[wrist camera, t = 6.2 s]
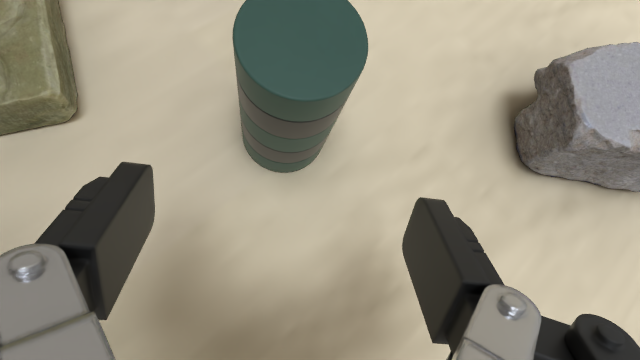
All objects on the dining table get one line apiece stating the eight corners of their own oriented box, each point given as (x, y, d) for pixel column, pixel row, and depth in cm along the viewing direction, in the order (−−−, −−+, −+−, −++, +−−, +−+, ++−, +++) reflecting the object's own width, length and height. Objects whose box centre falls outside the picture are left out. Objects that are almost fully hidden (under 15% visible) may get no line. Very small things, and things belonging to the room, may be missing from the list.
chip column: (224, 135, 23) (202, 36, 13) (279, 80, 24) (294, -46, 15) (287, 189, 23) (310, 128, 13) (339, 131, 24) (394, 37, 14)
